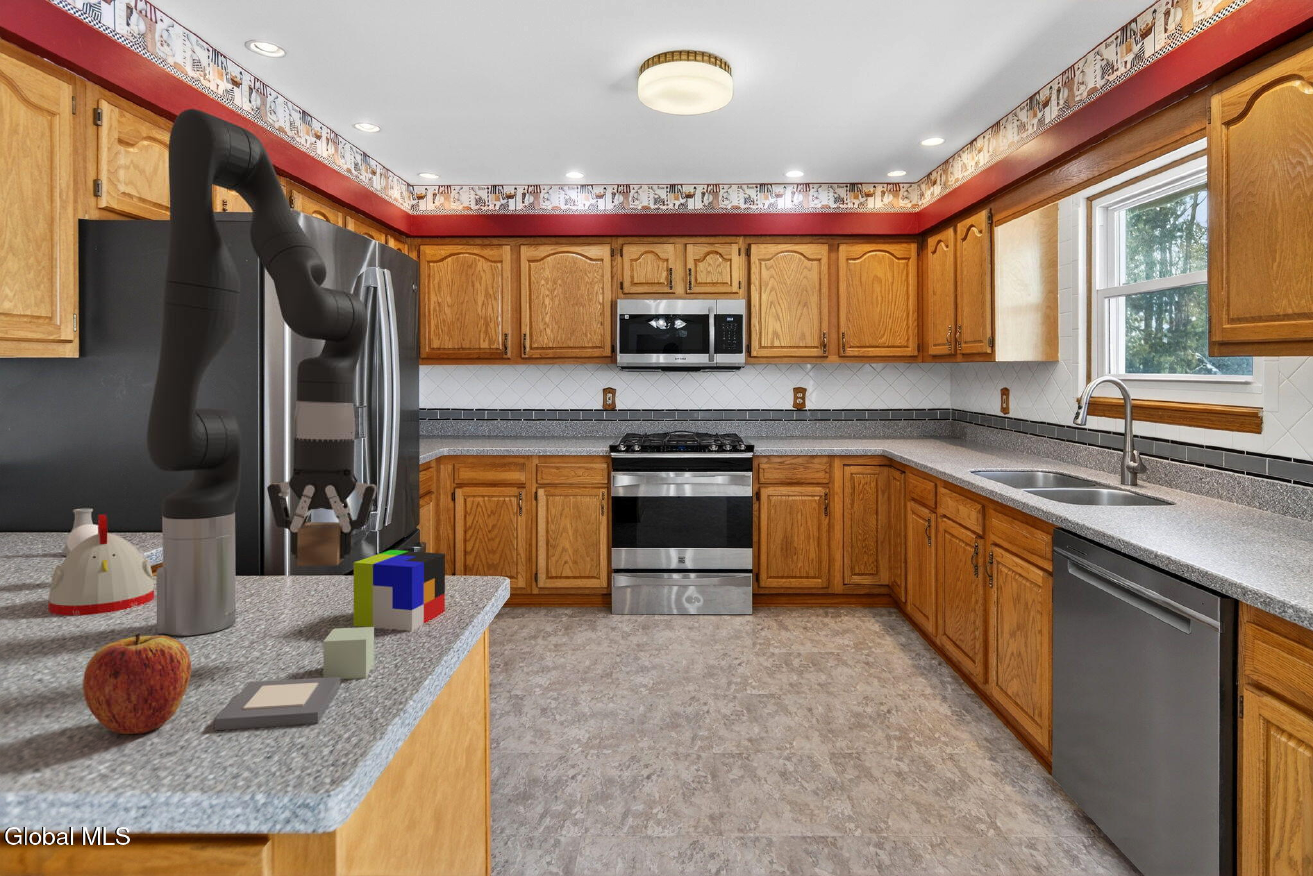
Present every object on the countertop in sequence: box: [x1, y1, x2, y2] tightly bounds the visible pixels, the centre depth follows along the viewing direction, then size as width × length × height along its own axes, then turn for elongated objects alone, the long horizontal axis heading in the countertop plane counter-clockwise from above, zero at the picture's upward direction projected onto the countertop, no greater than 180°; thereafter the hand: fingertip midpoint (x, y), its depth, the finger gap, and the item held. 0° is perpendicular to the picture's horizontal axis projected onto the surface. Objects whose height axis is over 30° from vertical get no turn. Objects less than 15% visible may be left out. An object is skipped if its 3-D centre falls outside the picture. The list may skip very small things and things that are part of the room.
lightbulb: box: [66, 523, 98, 551], centre depth 129 cm, size 6×6×11 cm
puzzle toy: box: [353, 549, 446, 632], centre depth 111 cm, size 10×10×10 cm
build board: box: [214, 677, 341, 731], centre depth 79 cm, size 10×10×1 cm
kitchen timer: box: [48, 514, 155, 616], centre depth 117 cm, size 14×14×15 cm
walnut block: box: [296, 521, 344, 567], centre depth 96 cm, size 5×5×5 cm
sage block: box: [322, 627, 375, 680], centre depth 89 cm, size 5×5×5 cm
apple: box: [82, 633, 192, 735], centre depth 73 cm, size 9×9×10 cm
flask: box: [60, 508, 94, 557], centre depth 153 cm, size 7×7×10 cm
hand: (322, 557), depth 96 cm, fingers closed on walnut block, 5 cm apart
